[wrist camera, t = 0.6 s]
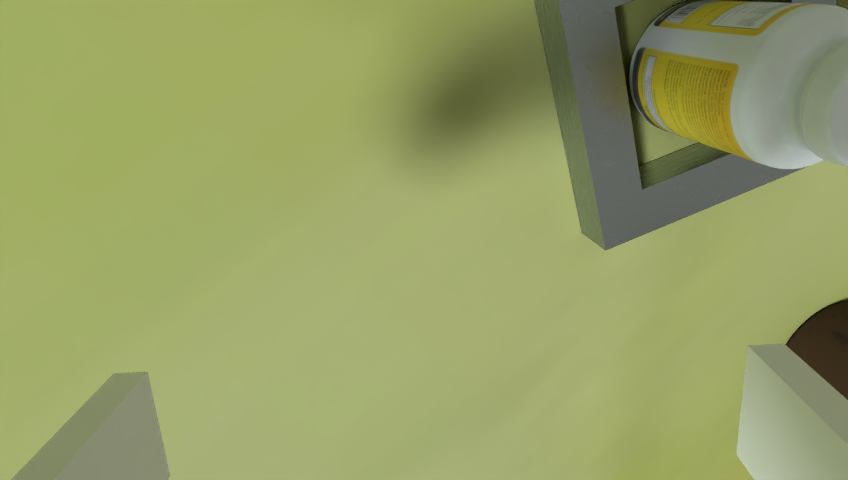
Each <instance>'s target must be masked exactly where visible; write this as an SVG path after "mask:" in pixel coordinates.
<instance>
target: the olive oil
mask: <svg viewBox="0 0 848 480" xmlns="http://www.w3.org/2000/svg"><path fill="white" fill-rule="evenodd" d="M786 346H787V347H788V348H789V349H791V350H792V351H793V352H794V353H795V354H796V355H797V356H798V357H800V358H801V359H802V360H803V361H804V362H805V363H806V364H807V365H809V366H810V367H811V368H812V369H813V370H814V371H815V372H817V373H818V374H819V375H820V376H821V377H822V378H823V379H824V380H826V381H827V382H828V383H829V384H830V385H831V386H832V387H833V388H835V389H836V390H837V391H838V392H839V393H840V394H841V395H843V396H844V397H845V398H846V399H847V400H848V301H847V302H842V303H839V304H836V305H833V306H831V307H828V308H826V309H824V310H823V311H821V312H819V313H818V314H816V315H815V316H813V317H812V318H811V319H809V320H808V321H807V322H806V323H805V324H804V325H803V326H801V327H800V329H799V330H798V331H797V332H796V333H795V334H794V335H793V336H792V338H791V339H790V340H789V342H788V343H787V345H786Z"/></svg>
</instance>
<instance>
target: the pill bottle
mask: <svg viewBox="0 0 848 480" xmlns="http://www.w3.org/2000/svg"><path fill="white" fill-rule="evenodd" d="M629 84H630V91H631V96H632V99H633V101H634V104H635V106H636V108H637V109H638V111H639V112H640V114H641V115H642V116H643V117H644V118H645V119H646V120H647V121H648V122H649V123H651V124H652V125H654V126H656V127H658V128H660V129H662V130H664V131H667V132H671V133H674V134H676V135H679V136H682V137H685V138H688V139H691V140H694V141H697V142H700V143H702V144H705V145H708V146H711V147H714V148H716V149H719V150H722V151H725V152H728V153H731V154H734V155H737V156H740V157H743V158H746V159H748V160H751V161H754V162H757V163H760V164H762V165H766V166H769V167H773V168H778V169H798V168H803V167H807V166H810V165H813V164H816V163H818V162H820V161H822V160H826V161H829V162H832V163H836V164H840V165H844V166H847V167H848V9H845V8H843V7H839V6H834V5H826V4H808V3H779V2H750V1H720V0H694V1H688V2H684V3H681V4H678V5H676V6H674V7H672V8H670V9H668V10H666V11H665V12H663V13H662V14H661V15H659V16H658V17H657V18H656V19H655V20H654V21H653V22H652V23H651V24H650V25H649V26H648V28H647V29H646V30H645V32H644V33H643V35H642V36H641V38H640V40H639V42H638V44H637V46H636V48H635V50H634V53H633V56H632V60H631V65H630V72H629Z"/></svg>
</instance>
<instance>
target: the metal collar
mask: <svg viewBox="0 0 848 480" xmlns="http://www.w3.org/2000/svg"><path fill="white" fill-rule="evenodd" d="M631 1H633V0H535V5H536V10H537V15H538V20H539V25H540V30H541V34H542V39H543V44H544V49H545V54H546V59H547V64H548V69H549V74H550V79H551V83H552V88H553V93H554V98H555V103H556V108H557V113H558V118H559V123H560V128H561V133H562V137H563V142H564V147H565V152H566V157H567V162H568V167H569V172H570V177H571V182H572V186H573V191H574V196H575V201H576V206H577V211H578V216H579V221H580V226H581V231H582V233H583V234H584V235H585V236H587V237H588V238H589V239H591V240H592V241H594V242H595V243H596V244H598V245H599V246H600V247H602V248H603V249H604V250H608V249H610V248H613V247H615V246H617V245H620V244H622V243H625V242H627V241H629V240H632V239H634V238H637V237H639V236H642V235H644V234H646V233H649V232H651V231H654V230H656V229H658V228H661V227H663V226H666V225H668V224H670V223H673V222H675V221H678V220H680V219H682V218H685V217H687V216H690V215H692V214H695V213H697V212H699V211H702V210H704V209H707V208H709V207H711V206H714V205H716V204H719V203H721V202H723V201H726V200H728V199H731V198H733V197H735V196H738V195H740V194H743V193H745V192H748V191H750V190H752V189H755V188H757V187H760V186H762V185H764V184H767V183H769V182H772V181H774V180H776V179H779V178H781V177H784V176H786V175H788V174H791V173H793V172H796V171H798V170H800V169H803V168H805V167H803V168H798V169H778V168H773V167H769V166H766V165H762V164H760V163H757V162H754V161H751V160H748V159H746V158H743V157H740V156H737V155H734V154H731V153H728V152H725V151H722V150H719V149H716V148H714V147H711V146H708V145H705V144H702V143H700V142H699V143H696V144H694V145H691V146H689V147H686V148H684V149H681V150H679V151H676V152H674V153H671V154H669V155H666V156H664V157H661V158H659V159H656V160H654V161H651V162H649V163H646V164H644V165H641V166H638V160H637V153H636V147H635V140H634V133H633V127H632V120H631V113H630V107H629V100H628V93H627V87H626V80H625V73H624V67H623V60H622V54H621V47H620V40H619V34H618V27H617V20H616V14H615V7H617V6H620V5H622V4H625V3H628V2H631ZM754 2H779V3H808V4H826V5H834V6H837V0H754ZM807 167H808V166H807Z"/></svg>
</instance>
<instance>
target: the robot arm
mask: <svg viewBox="0 0 848 480" xmlns="http://www.w3.org/2000/svg"><path fill="white" fill-rule="evenodd" d="M736 455H737V456H738V458H739V459H740V460H741V462H742V463H743V464H744V466H745V467H746V469H747V470H748V471H749V473H750V474H751V476H752V477H753V478H754V480H848V400H847V399H846V398H845V397H844V396H843V395H841V394H840V393H839V392H838V391H837V390H836V389H835V388H833V387H832V386H831V385H830V384H829V383H828V382H827V381H826V380H824V379H823V378H822V377H821V376H820V375H819V374H818V373H817V372H815V371H814V370H813V369H812V368H811V367H810V366H809V365H807V364H806V363H805V362H804V361H803V360H802V359H801V358H800V357H798V356H797V355H796V354H795V353H794V352H793V351H792V350H791V349H789V348H788V347H787V346H786V345H785V344H769V345H748V348H747V357H746V367H745V376H744V386H743V395H742V405H741V415H740V424H739V434H738V443H737V453H736ZM169 477H170V473H169V469H168V464H167V460H166V455H165V450H164V446H163V441H162V437H161V432H160V427H159V423H158V418H157V414H156V409H155V404H154V400H153V395H152V391H151V386H150V381H149V377H148V372H136V373H114V374H113V375H112V376H111V377H110V378H109V379H108V380H107V381H106V382H105V383H104V384H103V385H102V386H101V387H100V388H99V389H98V390H97V391H96V392H95V393H94V394H93V396H92V397H91V398H90V399H89V400H88V401H87V402H86V403H85V404H84V405H83V406H82V407H81V408H80V409H79V410H78V411H77V412H76V413H75V414H74V415H73V416H72V417H71V418H70V419H69V420H68V421H67V422H66V423H65V425H64V426H63V427H62V428H61V429H60V430H59V431H58V432H57V433H56V434H55V435H54V436H53V437H52V438H51V439H50V440H49V441H48V442H47V443H46V444H45V445H44V446H43V447H42V448H41V449H40V450H39V451H38V453H37V454H36V455H35V456H34V457H33V458H32V459H31V460H30V461H29V462H28V463H27V464H26V465H25V466H24V467H23V468H22V469H21V470H20V471H19V472H18V473H17V474H16V475H15V476H14V477H13V478H12V479H11V480H168V478H169Z"/></svg>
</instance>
